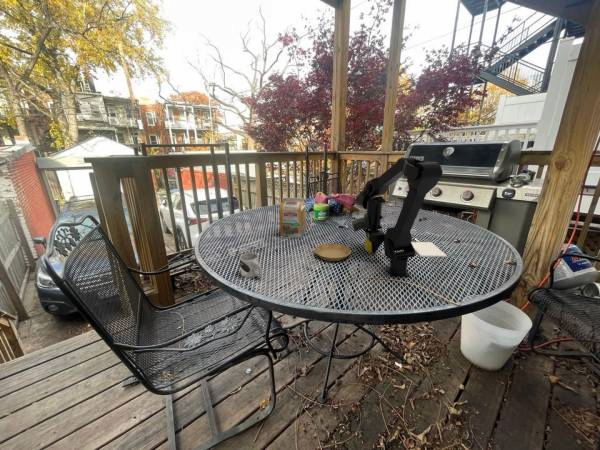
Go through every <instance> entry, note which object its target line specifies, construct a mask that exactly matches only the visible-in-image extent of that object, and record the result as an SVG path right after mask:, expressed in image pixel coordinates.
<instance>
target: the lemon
mask: <svg viewBox="0 0 600 450" xmlns="http://www.w3.org/2000/svg"><path fill="white" fill-rule="evenodd" d="M364 248H365V250H366V251H367V252H368V253H369V254H373V253H372V247H371V242H370V241H369V240H368V237H365V241H364Z"/></svg>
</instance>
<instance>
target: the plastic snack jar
mask: <svg viewBox="0 0 600 450" xmlns="http://www.w3.org/2000/svg"><path fill="white" fill-rule="evenodd" d="M281 199H282V200H281V203H280V205H279V209H278V210H279V211H278V212H279V213H278V215H279V233H280V236H282V237H292V238H302V237H304V236H305V235H306V233H307V205H306V203H305V201H304V198H302V197H282V198H281ZM305 232H306V233H305ZM303 235H304V236H303ZM302 239H303V238H302Z"/></svg>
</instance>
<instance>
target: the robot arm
mask: <svg viewBox="0 0 600 450" xmlns="http://www.w3.org/2000/svg"><path fill="white" fill-rule="evenodd" d="M443 171H444V170H442V166H441V164H440V163H438V162H437V161H426V160H421V159H417V158H415V157H413V156H411V157H400V158H398V159H397V160H396V162H395V163H394V164H393V165H392V166H390V168H388V169H387V170H386V171H384V172H383V173H382V174H381V175H379V176H378V177H375V178H371V179H369V180H367V181H366V183H365V185H364V187H363V189H362V190H359V194H357V196H356V197H355V200H354V203H355V205H356V206H357V207H360V208H362V209H364V210H366V212H365V213H364V215H363V216H362V217H359V218H357V219H356V218H355V219H353V220H351V221H350V222H351V226H352V229H353V231H354V232H358V231H359V230H363V231H364V232H365V236H366V237H365V238H367V237H368V240H369V241H370V242H371V247H372V253H371V254H373V255H375V254H376V253H377V251H379V248H380V247H381V246H382V244H383V250H384V256H385V257H386V259H387V260H389V266H386V267H385V268H386V270H387V273H388V274H389V275H390V277H398V278H400V277H406V278H408V277H410V276H411V274H410V273H409V271H408V263H409V259H410V258H414V257H416V253H417V252H416V251H415V250H414V247H413V245H412V243H411V242H412V240H413V237H412V233H411V230H412V227H413V226H414V223H415V221H416V219H417V216H418V214H419V212H420V209H421V206H422V205H423V203H424V200H425V198H426V196H427V194H428V193H429V192H430V191H432V190H433V189H434V188H435V187H436V186H437V185H438V183H439V181H441V178H442V176H443ZM403 176H405V178H406V179H407V180H406V182H407V186H408V191H407V194H406V197H405V199H404V202H403V205H402V207H401V211H400V212H399V216H398V218H397V221H396V222H395V226H392V227H387V228H386V231H385V232H384V231H383V230H382V228H383V227H382V224H381V223H382V220H383V218H384V217H383V215H382V213H383V212H382V211H383V204H386V202H387V200H386V199H384V197H383V196H384V195H385V194H387V192H388V191H389V190H390V186H392V185H393V183H395V182H397V181H398V180H399V179H401V178H402V177H403Z"/></svg>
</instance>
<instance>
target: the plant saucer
mask: <svg viewBox="0 0 600 450" xmlns="http://www.w3.org/2000/svg"><path fill="white" fill-rule="evenodd" d="M314 252H315V254H316V255H317V256H318V257H319V258H321V259H322V260H324V261H327V262H328V261H329V262H339V261H342V260H345V259H346V258H347V257H348V256H350V255H351V252H352V251H351V248H350V247H348V246H347V245H344V244H340V243H335V242H334V243H323V244H319V245H316V247H315V248H314Z"/></svg>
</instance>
